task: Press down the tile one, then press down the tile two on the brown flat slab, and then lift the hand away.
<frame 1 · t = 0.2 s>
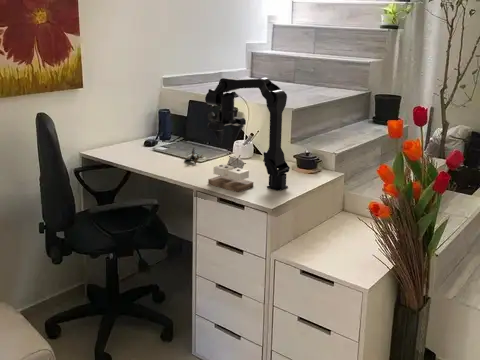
hand: (227, 143, 250), 14 cm above the table, fingers open, 9 cm apart
game die: (235, 173, 257), on the table
brown flat slab: (230, 185, 240), on the table
tile two: (223, 169, 240), point 6 cm above the table, slide at 2.0 cm
eagle figurine: (192, 162, 273), on the table
tile one: (238, 173, 235), point 6 cm above the table, slide at 2.0 cm
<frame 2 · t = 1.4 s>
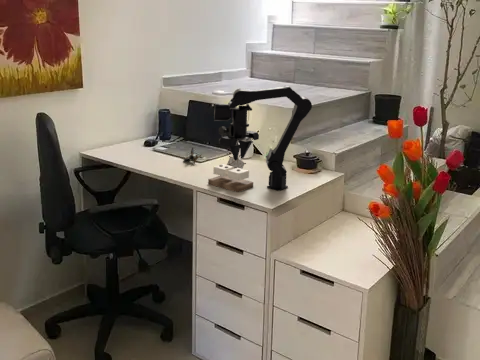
hand: (238, 159, 234), 12 cm above the table, fingers open, 4 cm apart
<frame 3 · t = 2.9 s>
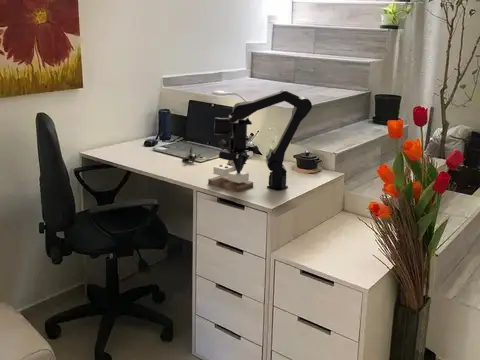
hand: (238, 172, 235), 6 cm above the table, fingers closed, pressing on tile one
tile one: (238, 176, 236), point 5 cm above the table, slide at 0.9 cm, touching gripper
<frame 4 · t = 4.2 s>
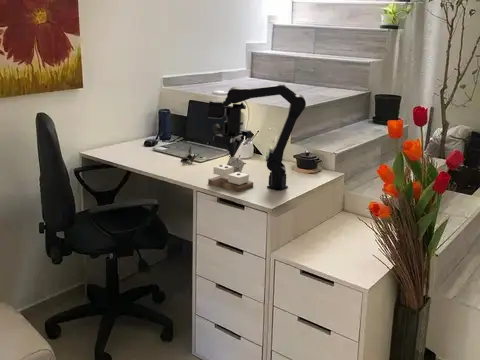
hand: (232, 156, 235), 12 cm above the table, fingers closed
tile one: (238, 177, 236), point 4 cm above the table, slide at 0.3 cm
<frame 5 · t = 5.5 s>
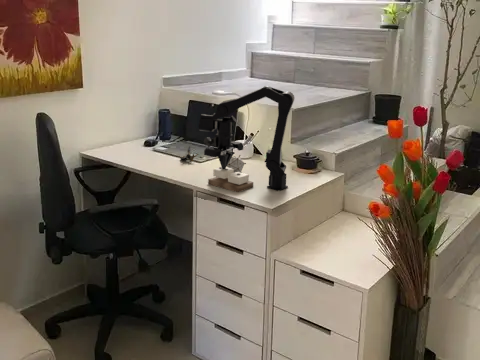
hand: (223, 169, 240), 6 cm above the table, fingers closed, pressing on tile two
tile two: (223, 172, 240), point 5 cm above the table, slide at 1.0 cm, touching gripper
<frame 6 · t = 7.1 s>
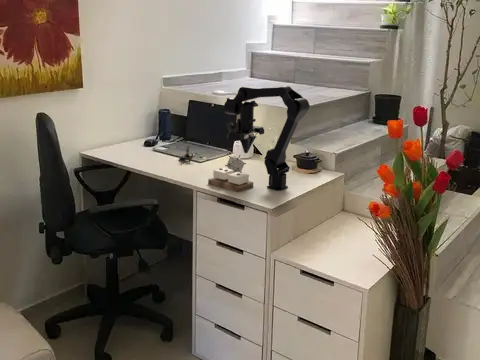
hand: (245, 153, 244), 12 cm above the table, fingers closed
tile two: (223, 173, 241), point 4 cm above the table, slide at 0.6 cm
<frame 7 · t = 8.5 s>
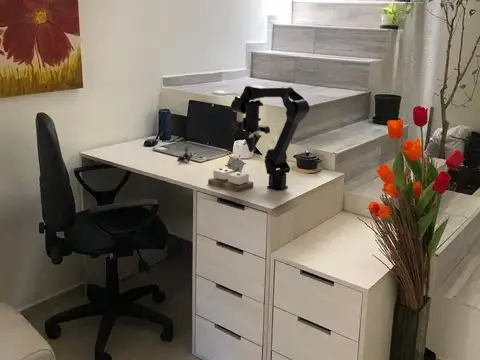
hand: (250, 151, 246), 12 cm above the table, fingers closed
at the end: tile one slide at 0.3 cm; tile two slide at 0.6 cm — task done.
